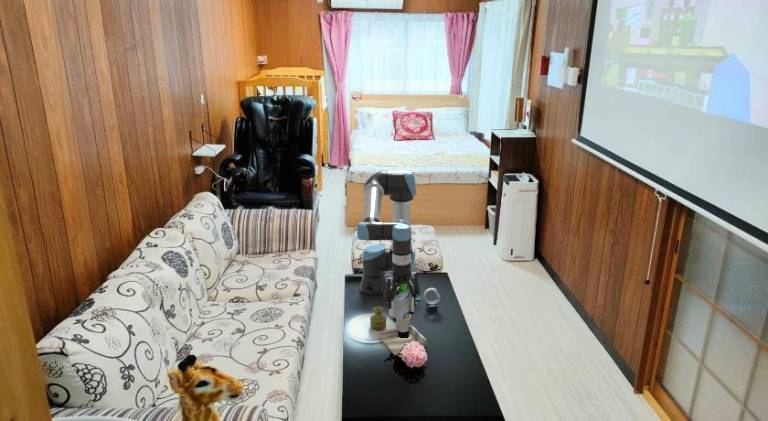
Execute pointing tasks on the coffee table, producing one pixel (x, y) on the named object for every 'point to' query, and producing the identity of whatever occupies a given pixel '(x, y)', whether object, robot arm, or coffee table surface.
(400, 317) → the medicine box
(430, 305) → the watch
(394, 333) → the corner arena
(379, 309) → the gold round knobbed cylinder
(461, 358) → the coffee table surface
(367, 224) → the robot arm
